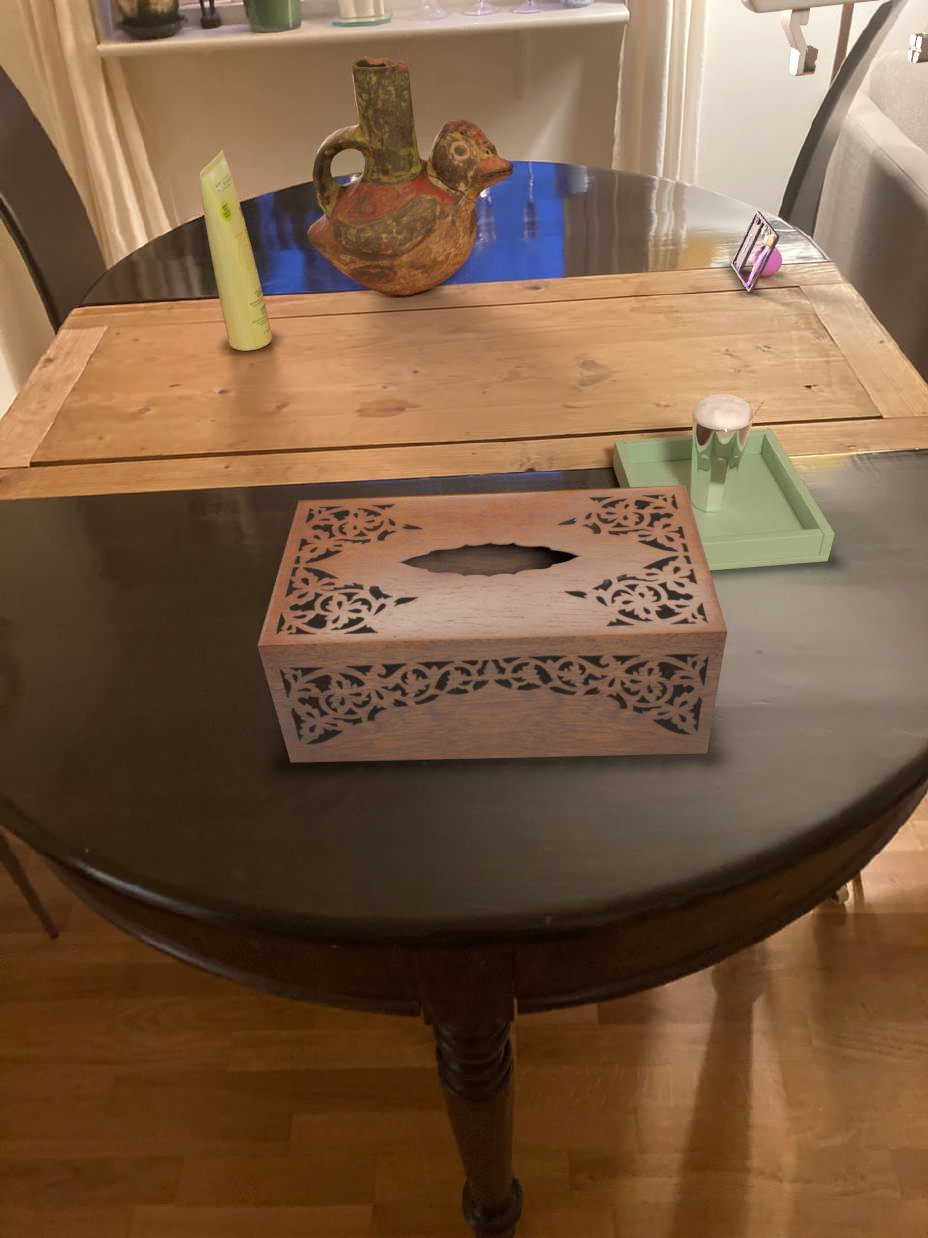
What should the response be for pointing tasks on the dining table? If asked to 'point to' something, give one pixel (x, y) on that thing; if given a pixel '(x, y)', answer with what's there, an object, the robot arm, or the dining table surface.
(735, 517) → the tray
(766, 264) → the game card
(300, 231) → the dining table surface
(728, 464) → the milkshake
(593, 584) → the tissue box cover
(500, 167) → the ceramic vessel
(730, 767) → the dining table surface
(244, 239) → the tube
